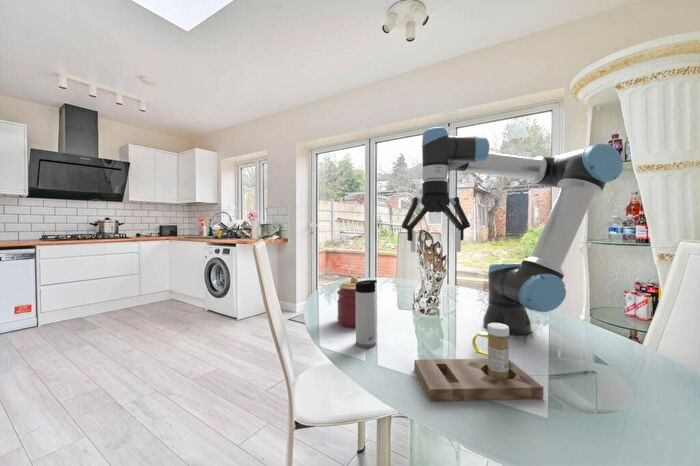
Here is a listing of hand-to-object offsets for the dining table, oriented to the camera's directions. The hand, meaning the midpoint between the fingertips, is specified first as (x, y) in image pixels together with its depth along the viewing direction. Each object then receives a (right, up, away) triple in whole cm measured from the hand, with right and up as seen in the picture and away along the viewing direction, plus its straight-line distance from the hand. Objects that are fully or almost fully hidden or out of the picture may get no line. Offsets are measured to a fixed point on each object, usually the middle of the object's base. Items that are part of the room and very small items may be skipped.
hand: (435, 251), depth 92 cm
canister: (-24, -29, +23) cm, 44 cm away
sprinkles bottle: (+9, -29, -21) cm, 37 cm away
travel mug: (-21, -29, +2) cm, 36 cm away
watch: (+12, -29, -5) cm, 32 cm away
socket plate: (+3, -29, -21) cm, 36 cm away
